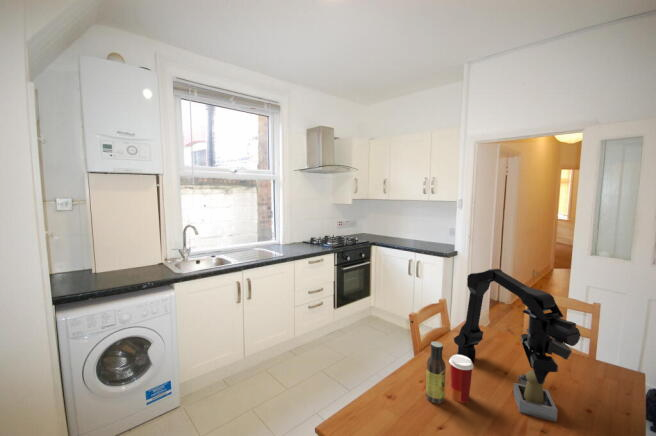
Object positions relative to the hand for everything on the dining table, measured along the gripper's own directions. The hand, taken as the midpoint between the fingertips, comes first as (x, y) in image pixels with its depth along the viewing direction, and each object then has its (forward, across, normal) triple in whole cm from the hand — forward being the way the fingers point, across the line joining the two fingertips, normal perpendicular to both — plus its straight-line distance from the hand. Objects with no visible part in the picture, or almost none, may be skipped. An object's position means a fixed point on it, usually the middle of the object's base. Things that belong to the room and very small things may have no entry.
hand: (536, 375), depth 96 cm
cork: (+10, 0, 0) cm, 11 cm away
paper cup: (+12, -5, +23) cm, 26 cm away
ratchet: (+12, +5, 0) cm, 13 cm away
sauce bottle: (+12, -9, +31) cm, 34 cm away
